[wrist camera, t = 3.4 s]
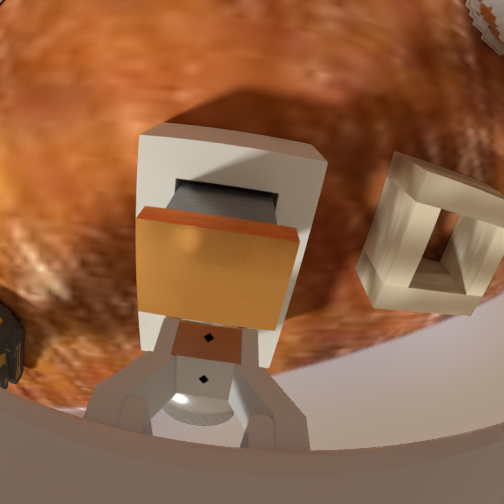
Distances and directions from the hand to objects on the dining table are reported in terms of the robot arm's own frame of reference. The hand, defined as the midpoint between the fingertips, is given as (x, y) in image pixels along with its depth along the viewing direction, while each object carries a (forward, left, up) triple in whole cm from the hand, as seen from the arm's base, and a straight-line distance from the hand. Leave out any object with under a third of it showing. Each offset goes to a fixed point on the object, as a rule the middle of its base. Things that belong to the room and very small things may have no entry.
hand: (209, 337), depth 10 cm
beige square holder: (0, +16, -14) cm, 21 cm away
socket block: (+4, 0, -14) cm, 14 cm away
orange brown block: (0, 0, -10) cm, 10 cm away
